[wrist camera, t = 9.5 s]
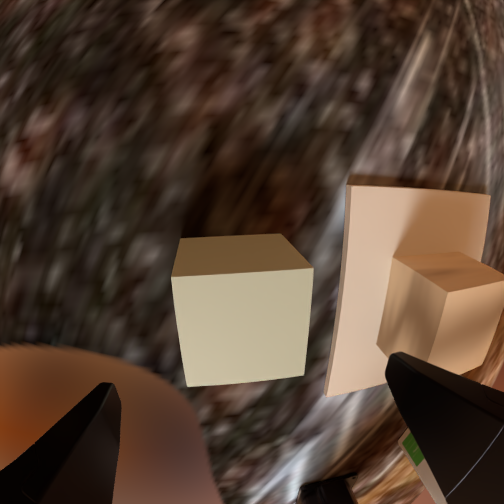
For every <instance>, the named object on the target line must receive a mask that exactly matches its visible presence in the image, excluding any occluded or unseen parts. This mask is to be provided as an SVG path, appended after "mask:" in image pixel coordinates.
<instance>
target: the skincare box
mask: <svg viewBox="0 0 504 504" xmlns="http://www.w3.org/2000/svg"><path fill="white" fill-rule="evenodd" d="M398 444H399V445H400V447H401V449H402V450H403V452H404V453H405V455H406V456H407V458H408V459H409V461H410V463H411V464H412V466H413V467H414V469H415V471H416V472H417V474H418V475H419V477H420V479H421V480H422V482H423V483H424V485H425V486H426V488H427V490H428V491H429V493H430V495H431V496H432V498H433V499H434V501H435V503H436V504H447V502H446V500H445V498H444V496H443V494H442V492H441V490H440V488H439V486H438V484H437V482H436V480H435V478H434V476H433V474H432V472H431V470H430V468H429V466H428V464H427V462H426V460H425V458H424V456H423V454H422V452H421V450H420V449H419V447H418V445H417V443H416V441H415V439H414V437H413V435H412V434H411V432H410V430H409V428H407V430H406V431H405V432H404V434H403V435H402V436H401V437H400V439H399V440H398Z"/></svg>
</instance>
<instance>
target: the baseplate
mask: <svg viewBox="0 0 504 504" xmlns="http://www.w3.org/2000/svg"><path fill="white" fill-rule="evenodd" d="M490 197H491V196H490V195H486V194H479V193H470V192H460V191H449V190H437V189H425V188H410V187H393V186H372V185H346V206H345V223H344V238H343V250H342V262H341V272H340V282H339V291H338V300H337V308H336V316H335V324H334V331H333V338H332V345H331V351H330V357H329V364H328V369H327V375H326V381H325V386H324V394H325V396H326V397H331V396H336V395H340V394H345V393H349V392H353V391H357V390H362V389H366V388H369V387H373V386H377V385H381V384H384V383H387V381H386V378H385V369H386V366H387V362H388V358H387V357H386V356H385V354H384V353H383V352H382V351H381V350H380V348H379V347H378V346H377V345H376V342H377V337H378V333H379V329H380V324H381V319H382V314H383V309H384V304H385V299H386V293H387V288H388V282H389V276H390V269H391V263H392V257H398V256H411V255H424V254H437V253H449V252H461V253H463V254H465V255H467V256H469V257H471V258H473V259H475V260H477V261H479V262H481V258H482V253H483V247H484V242H485V236H486V229H487V222H488V215H489V207H490Z"/></svg>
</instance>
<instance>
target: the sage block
mask: <svg viewBox="0 0 504 504" xmlns="http://www.w3.org/2000/svg"><path fill="white" fill-rule="evenodd" d="M313 271H314V268H313V267H312V266H311V265H310V264H309V263H308V262H307V260H306V259H305V258H304V257H303V256H302V255H301V254H300V253H299V252H298V251H297V250H296V249H295V248H294V247H293V246H292V245H291V244H290V243H289V241H288V240H287V239H286V238H285V237H284V236H283V235H282V234H281V233H280V234H258V235H237V236H217V237H198V238H181V239H180V242H179V246H178V250H177V255H176V259H175V263H174V267H173V271H172V276H171V280H172V289H173V297H174V305H175V313H176V320H177V328H178V334H179V341H180V348H181V354H182V360H183V366H184V372H185V377H186V383H187V387H189V386H208V385H223V384H235V383H246V382H255V381H264V380H272V379H280V378H287V377H294V376H301V375H304V369H305V360H306V351H307V342H308V332H309V321H310V310H311V298H312V285H313Z"/></svg>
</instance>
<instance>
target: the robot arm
mask: <svg viewBox="0 0 504 504" xmlns="http://www.w3.org/2000/svg"><path fill="white" fill-rule="evenodd" d="M385 378H386V381H387V383H388V385H389V388H390V390H391V393H392V395H393V397H394V400H395V402H396V405H397V407H398V409H399V411H400V413H401V415H402V417H403V419H404V421H405V423H406V424H407V426H408V428H409V430H410V432H411V434H412V435H413V437H414V439H415V441H416V443H417V445H418V447H419V449H420V450H421V452H422V454H423V456H424V458H425V460H426V462H427V464H428V466H429V468H430V470H431V472H432V474H433V476H434V478H435V480H436V482H437V484H438V486H439V488H440V490H441V492H442V494H443V496H444V498H445V500H446V502H447V504H504V392H502V391H499V390H496V389H493V388H491V387H488V386H485V385H483V384H482V385H481V384H480V383H478V382H475V381H473V380H470V379H468V378H465V377H463V376H460V375H458V374H455V373H453V372H450V371H448V370H445V369H443V368H440V367H438V366H435V365H433V364H431V363H428V362H426V361H423V360H421V359H419V358H416V357H414V356H411V355H409V354H407V353H404V352H402V351H399V352H395V353H392V354H391V355H390V356H389V359H388V362H387V366H386V369H385ZM120 423H121V401H120V398H119V396H118V393H117V390H116V388H115V385H114V384H113V383H106V382H103V383H100V384H99V385H98V386H96V387H95V388H94V389H93V390H92V391H91V392H90V393H89V394H88V395H87V396H85V397H84V398H83V399H82V400H81V401H80V402H79V403H78V404H77V405H76V406H74V407H73V408H72V409H71V410H70V411H69V412H68V413H67V414H66V415H65V416H64V417H62V418H61V419H60V420H59V421H58V422H57V423H56V424H55V425H54V426H52V427H51V428H50V429H49V430H48V431H47V432H46V433H45V434H44V435H43V436H42V437H40V438H39V439H38V440H37V441H36V442H35V445H34V444H33V445H32V446H31V447H29V448H28V449H27V450H26V451H25V452H24V453H23V454H21V455H20V456H19V457H18V458H17V459H16V460H14V461H13V462H12V463H10V464H9V465H8V466H6V467H5V468H4V469H2V470H1V471H0V504H112V499H113V490H114V483H115V475H116V467H117V461H118V455H119V446H120V425H121V424H120ZM357 478H358V474H357V473H353V474H350V475H346V476H343V477H339V478H336V479H332V480H328V481H324V482H320V483H316V484H311V485H307V486H303V487H301V488H300V490H299V494H298V497H297V501H296V504H358V502H357V500H356V497H355V495H354V493H353V491H352V487H353V485H354V483H355V482H356V480H357Z"/></svg>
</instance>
